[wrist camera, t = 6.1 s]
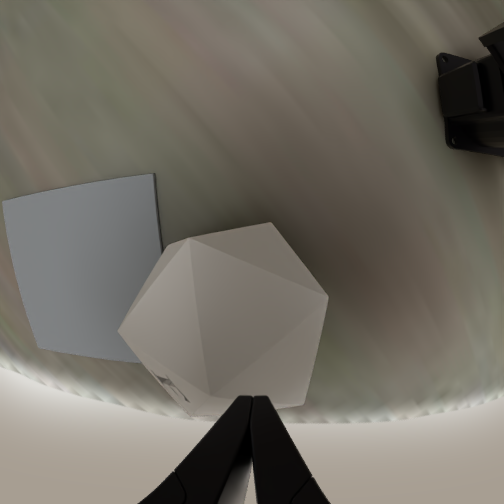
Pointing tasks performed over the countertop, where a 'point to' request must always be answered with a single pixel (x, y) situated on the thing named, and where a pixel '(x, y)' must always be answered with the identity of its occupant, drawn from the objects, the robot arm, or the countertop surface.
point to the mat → (84, 261)
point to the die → (228, 320)
